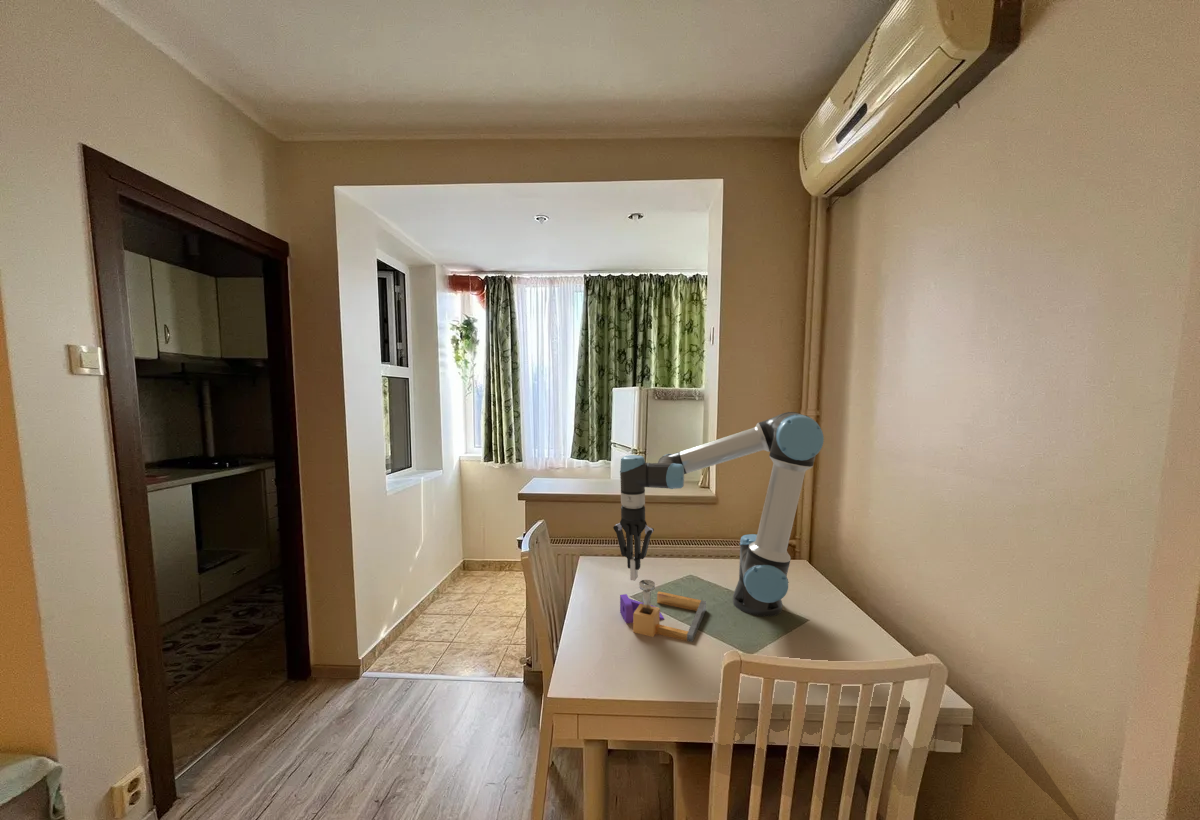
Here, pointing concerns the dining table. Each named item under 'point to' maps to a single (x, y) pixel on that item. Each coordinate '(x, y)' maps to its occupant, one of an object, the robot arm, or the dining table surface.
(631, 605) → the bracket
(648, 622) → the sleeve
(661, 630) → the u-shaped frame
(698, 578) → the dining table surface
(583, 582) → the dining table surface
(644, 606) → the round-headed metal pin
